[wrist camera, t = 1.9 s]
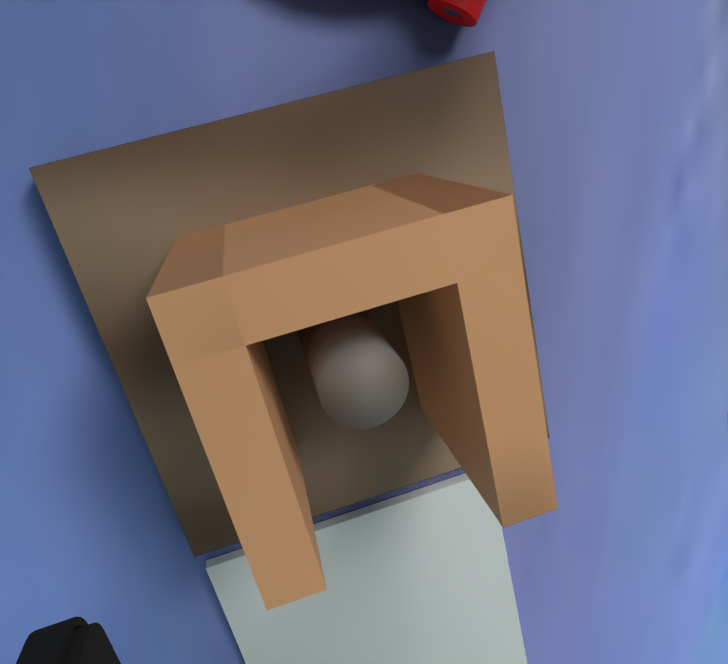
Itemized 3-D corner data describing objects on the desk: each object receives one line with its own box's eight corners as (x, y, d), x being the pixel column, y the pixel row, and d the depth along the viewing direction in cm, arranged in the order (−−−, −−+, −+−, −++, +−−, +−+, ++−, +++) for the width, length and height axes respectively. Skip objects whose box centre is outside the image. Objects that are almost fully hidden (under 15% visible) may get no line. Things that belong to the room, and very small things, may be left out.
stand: (41, 166, 15) (-54, 183, 10) (479, 55, 17) (589, 22, 12) (196, 536, 20) (184, 679, 14) (535, 424, 21) (633, 518, 16)
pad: (206, 560, 20) (206, 568, 20) (486, 465, 21) (491, 472, 21) (289, 758, 23) (290, 768, 23) (525, 668, 25) (529, 676, 24)
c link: (176, 238, 16) (146, 298, 10) (416, 172, 16) (512, 195, 11) (255, 462, 18) (266, 610, 12) (460, 396, 19) (557, 508, 13)
